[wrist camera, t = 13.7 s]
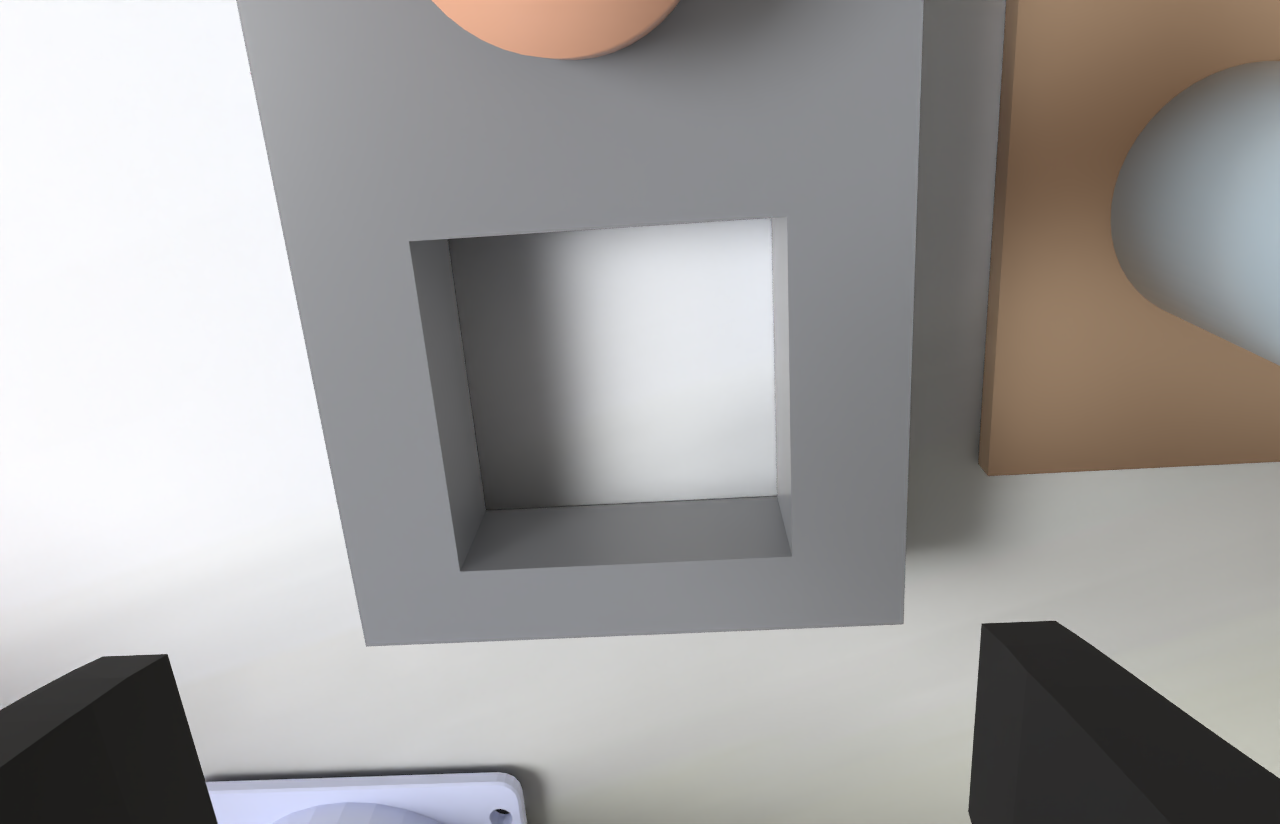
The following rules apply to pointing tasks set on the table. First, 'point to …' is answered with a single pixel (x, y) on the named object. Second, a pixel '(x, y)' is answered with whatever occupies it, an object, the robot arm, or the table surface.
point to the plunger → (558, 24)
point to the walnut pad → (1106, 250)
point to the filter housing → (584, 200)
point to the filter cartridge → (1209, 207)
